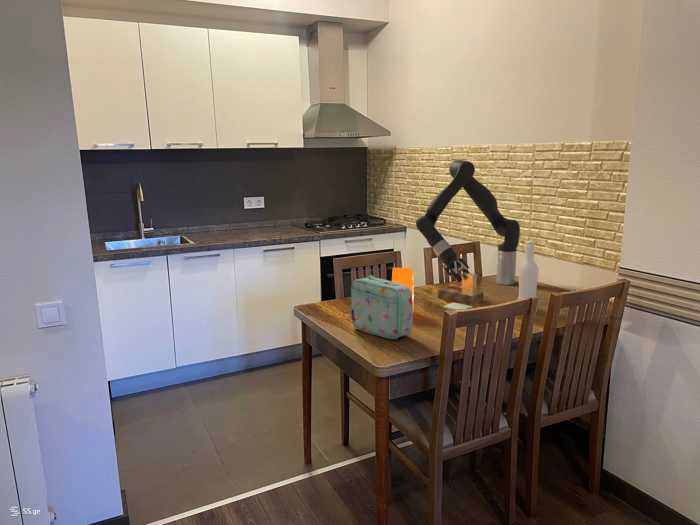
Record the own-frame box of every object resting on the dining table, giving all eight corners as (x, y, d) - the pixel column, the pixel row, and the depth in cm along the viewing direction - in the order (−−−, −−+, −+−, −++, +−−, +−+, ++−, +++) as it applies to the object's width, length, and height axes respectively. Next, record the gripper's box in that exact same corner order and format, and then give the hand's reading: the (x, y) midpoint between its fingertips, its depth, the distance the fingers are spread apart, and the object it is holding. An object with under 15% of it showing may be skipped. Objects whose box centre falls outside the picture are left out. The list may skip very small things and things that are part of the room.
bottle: (532, 313, 209) (537, 243, 203) (513, 310, 214) (517, 241, 208) (538, 308, 216) (543, 240, 209) (520, 305, 220) (523, 238, 214)
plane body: (437, 297, 235) (437, 286, 234) (449, 293, 242) (449, 281, 241) (472, 305, 223) (472, 292, 222) (483, 300, 230) (483, 287, 229)
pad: (443, 307, 220) (443, 306, 220) (452, 303, 226) (452, 302, 226) (463, 312, 213) (463, 310, 213) (472, 307, 219) (472, 306, 219)
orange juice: (412, 316, 209) (412, 270, 205) (391, 315, 211) (391, 269, 207) (413, 311, 217) (414, 266, 212) (393, 310, 218) (393, 265, 214)
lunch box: (345, 327, 197) (344, 275, 193) (363, 321, 204) (363, 270, 200) (397, 344, 179) (397, 287, 174) (415, 337, 186) (415, 281, 181)
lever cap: (461, 294, 226) (462, 273, 224) (465, 292, 228) (465, 272, 226) (472, 296, 222) (473, 275, 220) (475, 294, 225) (476, 274, 223)
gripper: (441, 249, 223) (463, 277, 218) (457, 244, 233) (479, 271, 228) (431, 259, 228) (452, 287, 222) (447, 254, 238) (468, 281, 232)
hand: (465, 279), depth 225 cm, fingers open, 8 cm apart
